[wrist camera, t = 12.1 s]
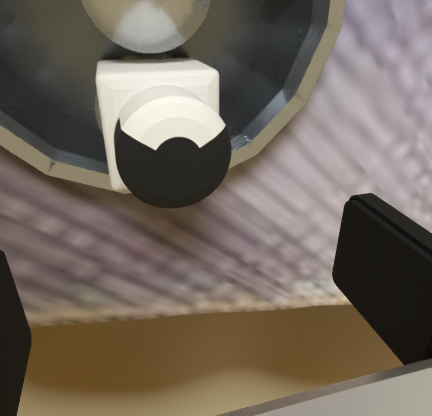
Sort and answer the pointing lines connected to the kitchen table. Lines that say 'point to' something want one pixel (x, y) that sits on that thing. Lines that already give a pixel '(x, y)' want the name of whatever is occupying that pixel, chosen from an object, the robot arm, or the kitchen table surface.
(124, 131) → the medicine bottle
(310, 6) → the carrier
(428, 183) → the kitchen table surface
